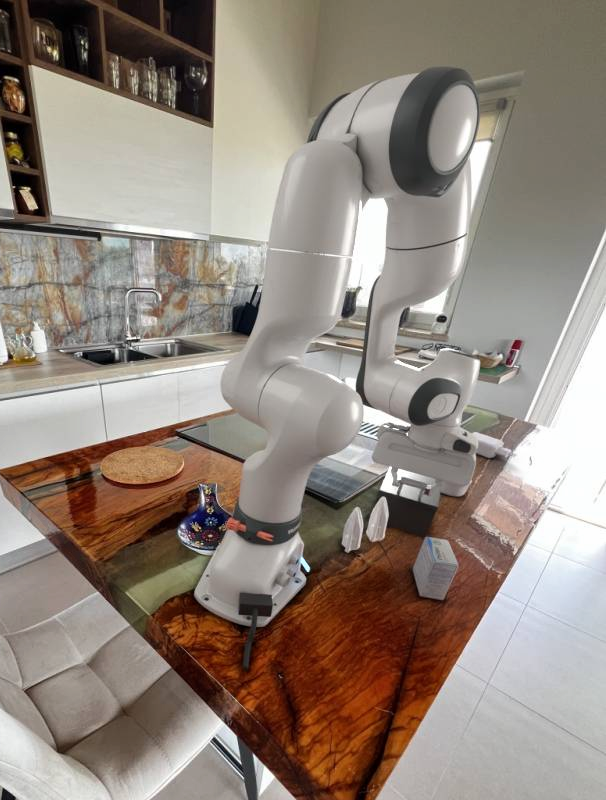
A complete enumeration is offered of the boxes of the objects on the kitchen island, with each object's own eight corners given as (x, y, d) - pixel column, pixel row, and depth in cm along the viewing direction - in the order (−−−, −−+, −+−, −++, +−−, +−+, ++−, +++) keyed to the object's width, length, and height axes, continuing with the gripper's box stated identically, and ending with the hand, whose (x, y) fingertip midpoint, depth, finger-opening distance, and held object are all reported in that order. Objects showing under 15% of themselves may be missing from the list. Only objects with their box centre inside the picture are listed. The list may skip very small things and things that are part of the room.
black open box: (425, 537, 94) (437, 508, 90) (370, 519, 99) (378, 491, 95) (430, 506, 106) (441, 480, 102) (381, 492, 111) (389, 466, 107)
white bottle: (507, 466, 133) (460, 449, 142) (516, 459, 139) (470, 443, 148) (514, 452, 131) (466, 436, 139) (522, 446, 136) (476, 431, 145)
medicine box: (443, 601, 77) (460, 566, 72) (418, 596, 77) (434, 561, 73) (434, 574, 83) (449, 539, 79) (411, 569, 84) (425, 535, 79)
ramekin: (434, 494, 112) (440, 480, 110) (429, 479, 120) (434, 466, 118) (469, 500, 111) (475, 486, 109) (461, 485, 118) (467, 472, 116)
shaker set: (376, 531, 95) (390, 489, 89) (389, 541, 92) (404, 499, 86) (334, 541, 90) (346, 498, 84) (347, 553, 87) (360, 509, 81)
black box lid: (436, 510, 90) (444, 492, 87) (378, 493, 94) (384, 475, 92) (441, 480, 102) (448, 463, 100) (389, 466, 107) (394, 450, 104)
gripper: (378, 424, 86) (361, 481, 93) (486, 450, 79) (459, 510, 86) (383, 415, 91) (367, 471, 98) (485, 439, 84) (460, 497, 91)
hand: (411, 489), depth 92 cm, fingers closed on black box lid, 5 cm apart
